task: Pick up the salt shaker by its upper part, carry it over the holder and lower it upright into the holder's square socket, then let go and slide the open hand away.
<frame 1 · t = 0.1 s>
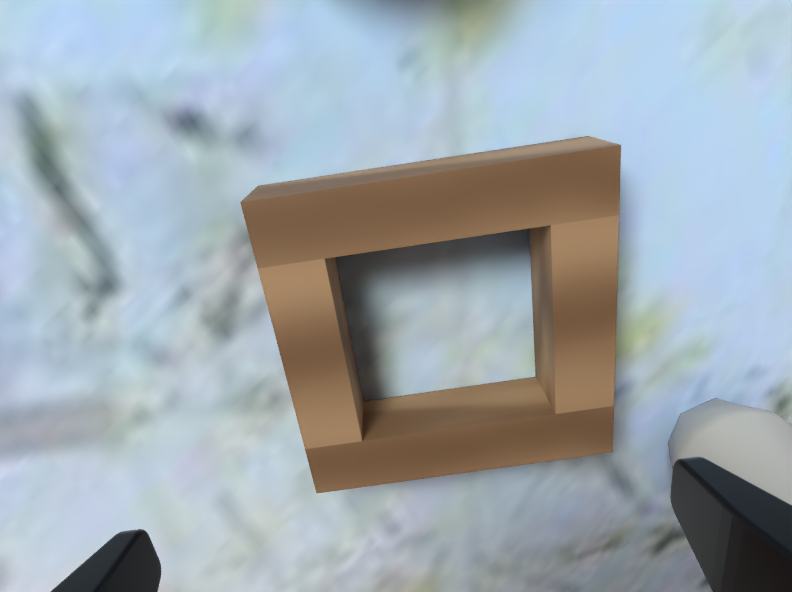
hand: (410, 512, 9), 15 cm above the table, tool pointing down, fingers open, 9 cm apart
holder: (440, 311, 23), on the table
salt shaker: (706, 429, 27), on the table
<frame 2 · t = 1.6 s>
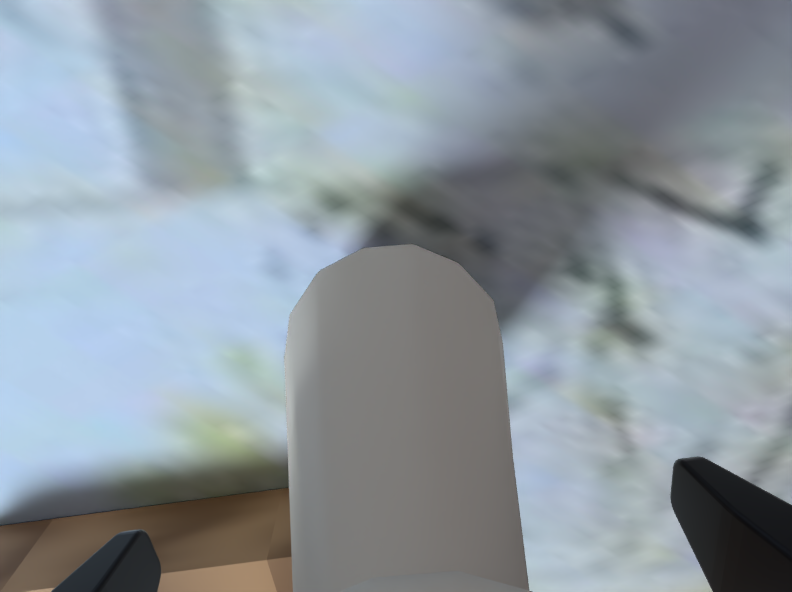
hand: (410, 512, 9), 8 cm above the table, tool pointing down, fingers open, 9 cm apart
salt shaker: (391, 310, 16), on the table
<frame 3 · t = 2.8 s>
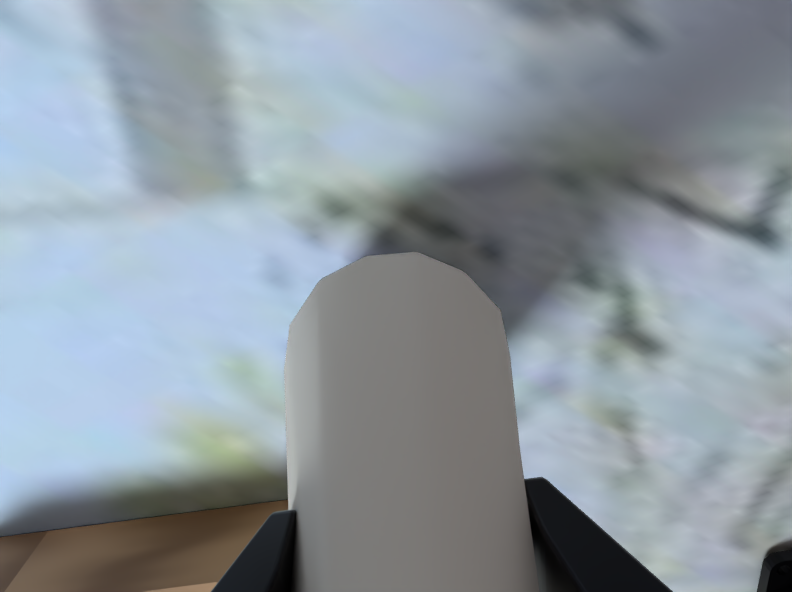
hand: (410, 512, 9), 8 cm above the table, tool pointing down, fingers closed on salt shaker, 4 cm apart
salt shaker: (394, 318, 16), on the table, touching gripper
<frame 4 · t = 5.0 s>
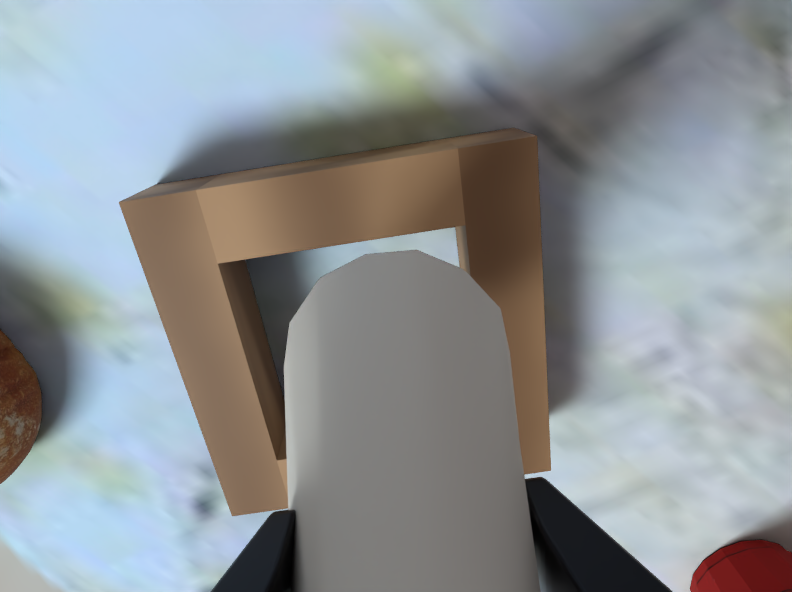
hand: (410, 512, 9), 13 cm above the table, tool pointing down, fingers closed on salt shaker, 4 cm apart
plastic cup: (742, 573, 29), on the table
holder: (364, 318, 22), on the table
salt shaker: (394, 317, 16), point 5 cm above the table, touching gripper
when the fingers open (8 cm above the table, at t = 7.1 s): salt shaker stays where it is, resting in holder.
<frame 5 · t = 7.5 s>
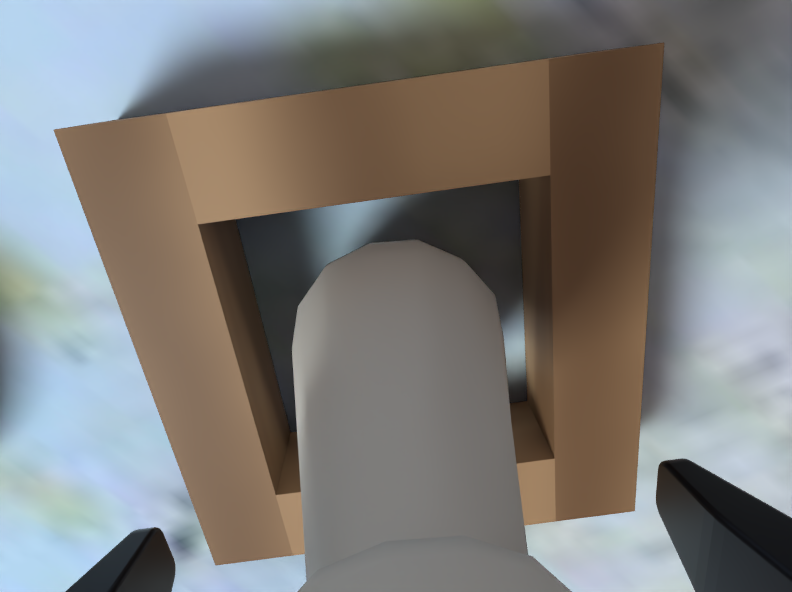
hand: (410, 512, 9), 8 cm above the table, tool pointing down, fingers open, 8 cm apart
holder: (392, 308, 17), on the table
salt shaker: (394, 304, 17), resting in holder
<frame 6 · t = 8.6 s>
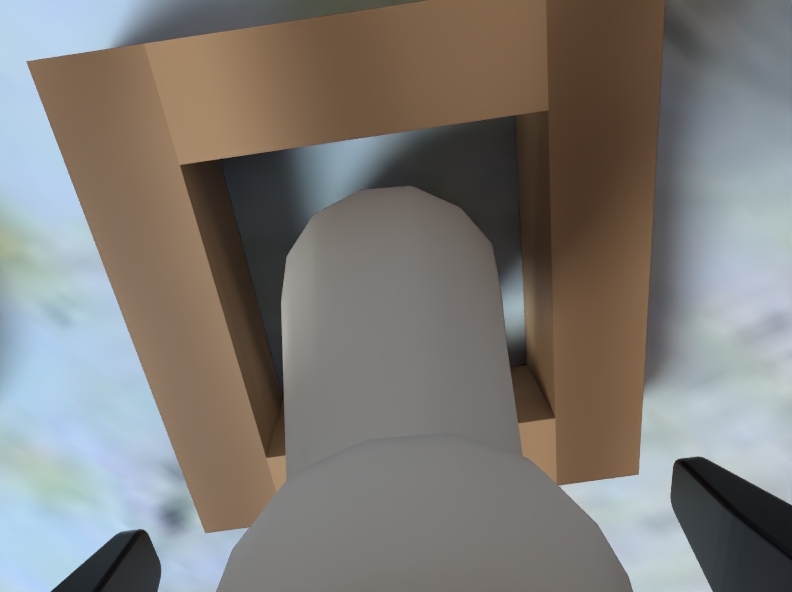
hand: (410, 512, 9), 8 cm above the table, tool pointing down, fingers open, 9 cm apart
holder: (386, 267, 16), on the table
salt shaker: (389, 263, 16), resting in holder
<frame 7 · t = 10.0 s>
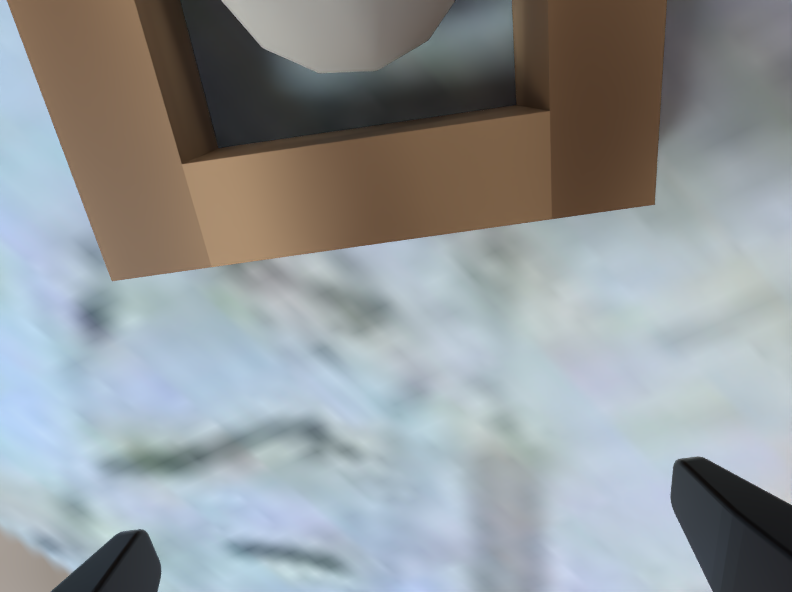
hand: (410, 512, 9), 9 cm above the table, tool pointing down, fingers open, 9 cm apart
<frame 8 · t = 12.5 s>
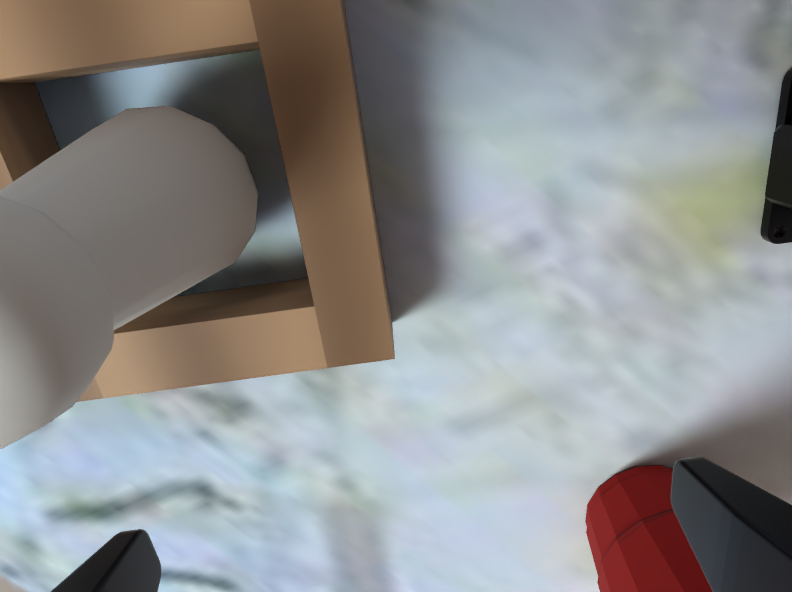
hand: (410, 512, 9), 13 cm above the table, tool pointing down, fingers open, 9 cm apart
plastic cup: (642, 505, 27), on the table
holder: (190, 187, 19), on the table
salt shaker: (193, 184, 20), resting in holder
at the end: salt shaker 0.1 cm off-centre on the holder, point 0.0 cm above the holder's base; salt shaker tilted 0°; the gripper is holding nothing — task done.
